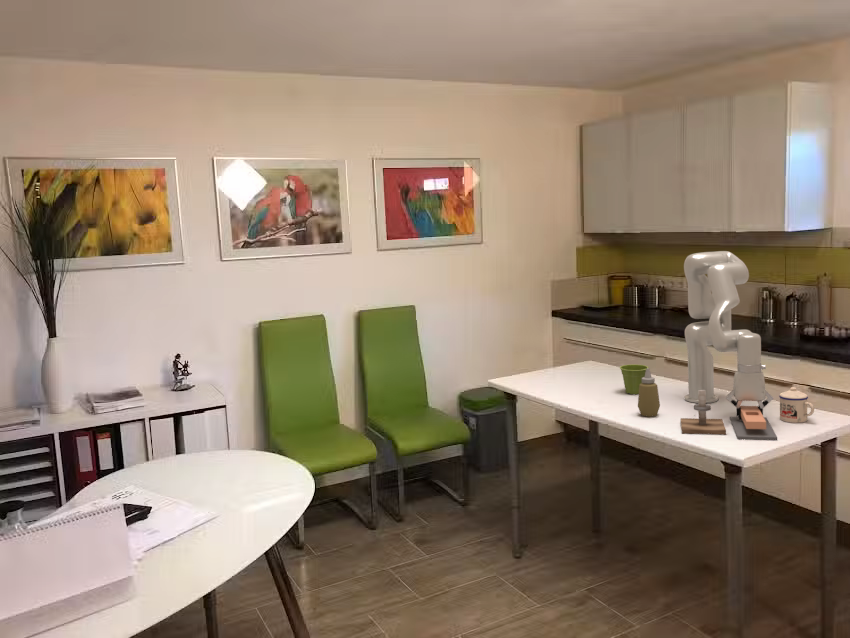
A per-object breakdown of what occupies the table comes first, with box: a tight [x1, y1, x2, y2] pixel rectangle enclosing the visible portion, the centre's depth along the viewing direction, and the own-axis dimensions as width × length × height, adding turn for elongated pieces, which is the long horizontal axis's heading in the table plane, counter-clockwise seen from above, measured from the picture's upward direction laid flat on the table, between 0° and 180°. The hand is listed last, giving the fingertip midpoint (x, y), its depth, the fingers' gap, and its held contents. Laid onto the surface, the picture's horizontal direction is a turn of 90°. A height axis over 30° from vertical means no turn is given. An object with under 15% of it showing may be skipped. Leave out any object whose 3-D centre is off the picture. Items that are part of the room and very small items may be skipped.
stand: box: [680, 390, 727, 436], centre depth 248 cm, size 14×14×14 cm
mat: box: [729, 416, 778, 441], centre depth 244 cm, size 24×12×1 cm, turn 162°
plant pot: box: [619, 363, 649, 395], centre depth 304 cm, size 12×12×11 cm
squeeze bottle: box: [637, 367, 661, 418], centre depth 269 cm, size 8×8×18 cm
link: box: [740, 405, 766, 429], centre depth 244 cm, size 20×6×2 cm, turn 162°
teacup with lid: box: [778, 386, 815, 424], centre depth 250 cm, size 12×9×12 cm
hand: (749, 418), depth 251 cm, fingers closed on link, 5 cm apart
